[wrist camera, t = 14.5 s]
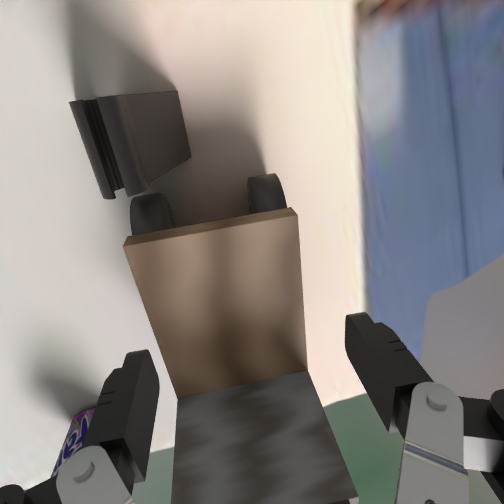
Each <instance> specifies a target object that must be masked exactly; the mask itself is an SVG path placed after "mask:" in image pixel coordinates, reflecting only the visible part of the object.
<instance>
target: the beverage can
mask: <svg viewBox="0 0 504 504" xmlns="http://www.w3.org/2000/svg"><path fill="white" fill-rule="evenodd" d="M94 410H95V408H93V409H88V410H85V411H82V412H80V413H79V414H77V415H76V416H75V417H74V418H73V420H72V423H71V425H70V428H69V431H68V433H67V436H66V438H65V441H64V444H63V446H62V449H61V452H60V454H59V457H58V459H57V462H56V465H55V467H54V470H53V473H52V475H51V478H52V477H54V476H56V475H57V474H59V472H60V470H61V468H62V466H63V465H64V464H65V462H66V461H67V460H68V459H69V458H70V457H71V456H72V455H74V454H75V453H76V452H78V451H79V450H80V449H81V446H82V444H83V441H84V438H85V435H86V433H87V430H88V427H89V424H90V421H91V419H92V416H93V413H94Z"/></svg>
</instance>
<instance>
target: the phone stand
mask: <svg viewBox="0 0 504 504" xmlns="http://www.w3.org/2000/svg"><path fill="white" fill-rule="evenodd" d="M69 104H70V107H71V110H72V112H73V115H74V118H75V121H76V124H77V126H78V129H79V132H80V135H81V138H82V140H83V143H84V146H85V149H86V151H87V154H88V157H89V160H90V163H91V165H92V168H93V171H94V174H95V177H96V179H97V182H98V185H99V188H100V191H101V193H102V196H103V198H104V199H115V198H116V196H115V193H114V191H116V190H119V189H121V188H125V190H126V193H127V196H128V197H129V196H133V195H136V194H139V193H141V192H143V191H145V190H146V189H147V185H148V184H149V183H150V182H151V181H153V180H154V179H156V178H158V177H159V176H161V175H163V174H164V173H166V172H167V171H169V170H171V169H172V168H174V167H175V166H177V165H179V164H180V163H182V162H184V161H185V160H187V159H188V158H190V157H191V153H190V149H189V144H188V139H187V134H186V130H185V125H184V120H183V115H182V111H181V106H180V101H179V96H178V91H166V92H155V93H145V94H134V95H122V96H121V95H117V96H108V97H100V98H96V99H94V100H86V101H83V100H78V101H72V102H69Z"/></svg>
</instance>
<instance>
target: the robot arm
mask: <svg viewBox="0 0 504 504" xmlns="http://www.w3.org/2000/svg"><path fill="white" fill-rule="evenodd" d="M345 349H346V353H347V356H348V358H349V360H350V362H351V364H352V366H353V367H354V369H355V371H356V373H357V375H358V377H359V379H360V380H361V382H362V384H363V386H364V388H365V390H366V392H367V394H368V395H369V397H370V399H371V401H372V403H373V405H374V407H375V408H376V410H377V412H378V414H379V416H380V418H381V419H382V421H383V423H384V425H385V427H386V429H387V431H388V432H389V433H393V432H400V433H401V435H402V437H403V439H404V443H403V450H402V456H401V462H400V469H399V475H398V482H397V488H396V495H395V501H394V504H469V480H468V472H467V470H466V469H472V470H479V471H480V472H481V473H482V475H483V476H484V477H485V479H486V481H487V482H488V484H489V485H490V486H491V488H492V490H493V491H494V493H495V494H496V496H497V497H498V499H499V500H500V502H501V503H502V504H504V389H501V390H497V391H495V392H494V393H493V394H492V396H491V399H490V400H484V399H475V398H465V397H460V396H457V395H456V394H455V393H454V392H453V391H452V390H451V389H449V388H447V387H446V386H444V385H441V384H438V383H435V382H434V381H433V380H432V379H431V378H430V377H429V375H428V374H427V373H426V371H425V370H424V369H423V368H422V366H421V365H420V364H419V362H418V361H417V360H416V359H415V357H414V356H413V355H412V354H411V352H410V351H409V350H407V347H406V346H405V345H404V343H403V342H401V340H400V338H399V337H398V336H397V335H396V333H395V332H394V331H393V330H392V329H391V328H389V327H388V326H386V325H384V324H383V323H381V322H380V323H374V322H373V321H372V319H371V318H370V317H369V315H368V314H367V313H366V312H361V313H355V314H350V315H347V316H346V320H345ZM159 388H160V387H159V378H158V374H157V372H156V369H155V366H154V363H153V360H152V358H151V355H150V352H149V350H147V349H146V350H140V351H135V352H129V353H127V355H126V357H125V360H124V363H123V366H122V368H117V369H114V370H113V371H112V373H111V374H110V375H109V377H108V378H107V379H106V380H105V382H104V385H103V388H102V391H101V396H99V399H98V402H97V407H95V410H94V413H93V416H92V419H91V421H90V424H89V427H88V430H87V433H86V435H85V438H84V441H83V444H82V446H81V449H80V450H79V451H78V452H76V453H75V454H74V455H72V456H71V457H70V458H69V459H68V460H67V461H66V462H65V464H64V465H63V466H62V468H61V470H60V472H59V474H57V475H56V476H54V477H52V478H50V479H48V480H46V481H44V482H42V483H40V484H38V485H36V486H34V487H32V488H30V489H28V490H26V491H24V490H23V489H22V487H20V486H19V485H16V484H11V485H6V486H3V487H1V488H0V504H135V502H134V501H133V499H132V498H131V496H132V490H133V484H134V483H138V482H143V481H145V477H146V471H147V465H148V459H149V453H150V447H151V440H152V434H153V428H154V422H155V416H156V410H157V404H158V397H159ZM464 468H465V469H464ZM328 504H350V502H349V499H347V500H342V501H338V502H333V503H328Z"/></svg>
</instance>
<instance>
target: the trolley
mask: <svg viewBox="0 0 504 504" xmlns="http://www.w3.org/2000/svg"><path fill="white" fill-rule="evenodd" d="M248 198H249V206H250V213H251V214H250V215H245V216H239V217H234V218H228V219H222V220H217V221H211V222H206V223H200V224H194V225H189V226H183V227H178V228H175V224H174V220H173V217H172V213H171V210H170V207H169V204H168V202H167V199H166V197H165V195H164V194H163V193H155V194H149V195H143V196H138V197H133V199H132V201H131V205H130V222H131V230H132V236H128V237H127V239H126V241H125V243H124V245H123V249H124V251H125V254H126V257H127V260H128V263H129V265H130V268H131V271H132V274H133V276H134V279H135V282H136V285H137V288H138V290H139V293H140V296H141V299H142V302H143V304H144V307H145V310H146V313H147V315H148V318H149V321H150V324H151V327H152V329H153V332H154V335H155V338H156V340H157V343H158V346H159V349H160V352H161V354H162V357H163V360H164V363H165V365H166V368H167V371H168V374H169V377H170V379H171V382H172V385H173V388H174V390H175V393H176V396H177V399H178V402H177V418H176V433H175V450H174V465H173V481H172V497H171V504H328V503H333V502H338V501H342V500H347V499H349V502H350V504H358V499H359V497H358V494H357V492H356V489H355V487H354V484H353V482H352V479H351V477H350V474H349V472H348V470H347V467H346V464H345V462H344V459H343V457H342V454H341V452H340V449H339V447H338V444H337V442H336V439H335V437H334V434H333V432H332V429H331V427H330V424H329V422H328V420H327V417H326V415H325V412H324V409H323V407H322V404H321V402H320V399H319V397H318V394H317V392H316V389H315V387H314V385H313V382H312V380H311V377H310V375H309V372H308V366H307V350H306V335H305V320H304V305H303V289H302V274H301V259H300V243H299V228H298V215H297V214H296V212H295V211H294V210H293V209H292V208H291V207H289V208H287V205H286V200H285V196H284V192H283V189H282V186H281V183H280V181H279V178H278V177H277V175H276V174H274V173H273V174H268V175H262V176H256V177H250V178H248Z"/></svg>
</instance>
